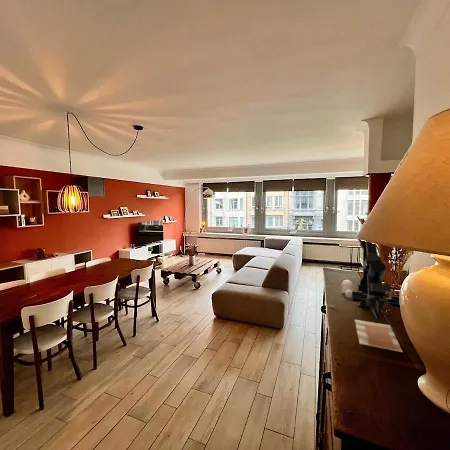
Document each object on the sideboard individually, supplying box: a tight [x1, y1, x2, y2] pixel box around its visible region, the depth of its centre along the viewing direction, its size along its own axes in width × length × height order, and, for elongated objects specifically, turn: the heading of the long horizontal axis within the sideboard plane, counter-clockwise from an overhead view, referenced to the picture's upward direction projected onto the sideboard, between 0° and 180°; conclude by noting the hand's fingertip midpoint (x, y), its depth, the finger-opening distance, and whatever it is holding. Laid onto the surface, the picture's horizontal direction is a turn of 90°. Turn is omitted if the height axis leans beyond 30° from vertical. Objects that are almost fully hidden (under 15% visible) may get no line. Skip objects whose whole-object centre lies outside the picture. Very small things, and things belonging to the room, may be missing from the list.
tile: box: [365, 325, 393, 350], centre depth 100 cm, size 2×8×12 cm
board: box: [354, 319, 403, 353], centre depth 104 cm, size 22×14×1 cm, turn 157°
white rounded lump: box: [341, 279, 354, 299], centre depth 149 cm, size 6×8×12 cm
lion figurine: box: [385, 288, 396, 298], centre depth 144 cm, size 15×5×9 cm, turn 64°
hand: (377, 318), depth 101 cm, fingers closed
